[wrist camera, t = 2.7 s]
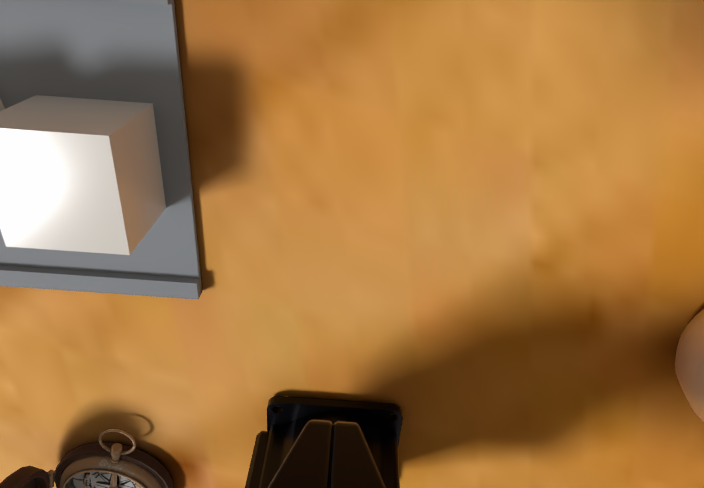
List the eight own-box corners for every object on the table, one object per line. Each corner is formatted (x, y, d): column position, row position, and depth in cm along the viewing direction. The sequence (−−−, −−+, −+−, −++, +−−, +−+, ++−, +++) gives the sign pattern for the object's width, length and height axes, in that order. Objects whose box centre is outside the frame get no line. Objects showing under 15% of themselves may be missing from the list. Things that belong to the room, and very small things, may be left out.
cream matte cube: (152, 103, 18) (108, 136, 15) (166, 207, 20) (129, 255, 17) (36, 95, 18) (-32, 125, 15) (61, 200, 20) (6, 246, 17)
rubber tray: (171, -26, 16) (164, -25, 16) (202, 291, 22) (198, 299, 22) (-219, -55, 16) (-239, -55, 15) (-81, 271, 22) (-92, 279, 21)
